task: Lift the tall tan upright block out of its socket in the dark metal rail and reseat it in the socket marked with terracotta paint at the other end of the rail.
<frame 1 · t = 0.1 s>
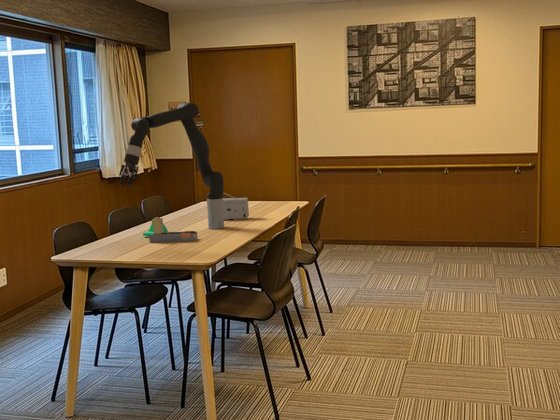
hand: (125, 184, 353), 31 cm above the table, tool tilted 20°, fingers open, 8 cm apart
tan upright block: (159, 237, 360), point 2 cm above the table, touching rail
rail: (173, 240, 359), on the table
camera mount: (155, 237, 376), on the table
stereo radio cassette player: (231, 219, 425), on the table
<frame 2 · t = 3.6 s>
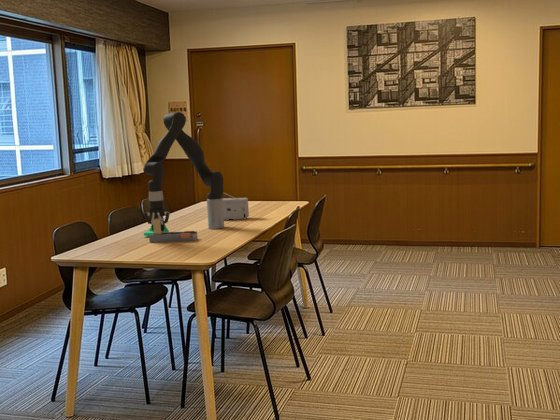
hand: (158, 231, 360), 5 cm above the table, tool pointing down, fingers closed on tan upright block, 4 cm apart
tan upright block: (159, 237, 360), point 2 cm above the table, touching gripper, rail
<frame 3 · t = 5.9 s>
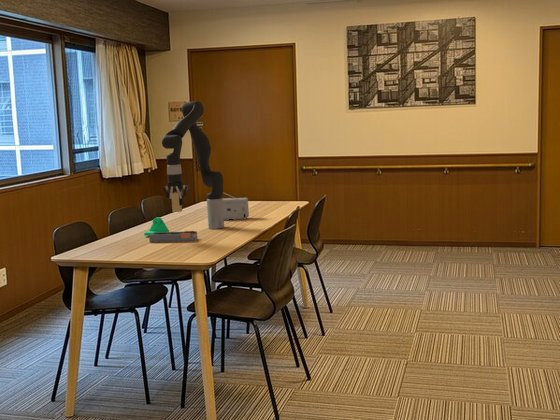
hand: (177, 205, 357), 19 cm above the table, tool pointing down, fingers closed on tan upright block, 4 cm apart
tan upright block: (177, 211, 357), point 16 cm above the table, touching gripper
when the fingers open (6 cm above the table, at t = 8.7 s): tan upright block stays where it is, resting on rail.
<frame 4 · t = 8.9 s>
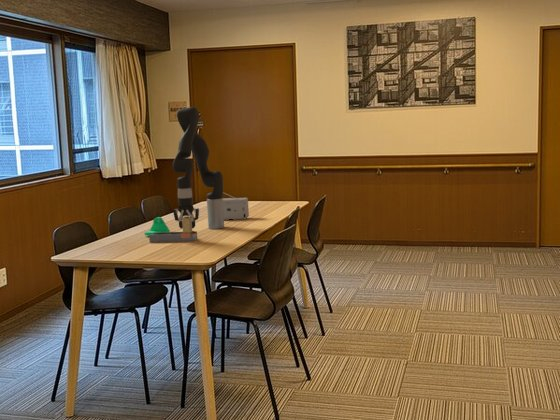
hand: (187, 228, 357), 7 cm above the table, tool pointing down, fingers open, 6 cm apart
tan upright block: (188, 236, 358), point 2 cm above the table, touching rail
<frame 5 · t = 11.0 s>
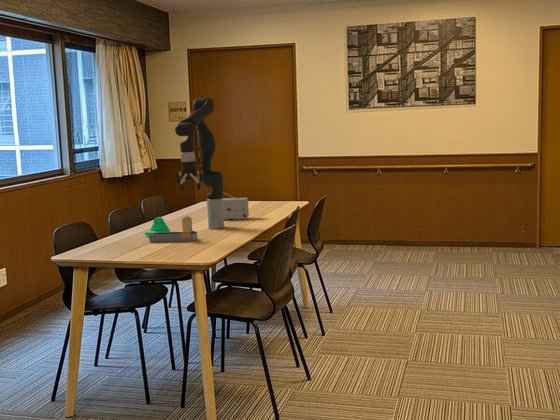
hand: (191, 190, 361), 26 cm above the table, tool pointing down, fingers open, 8 cm apart
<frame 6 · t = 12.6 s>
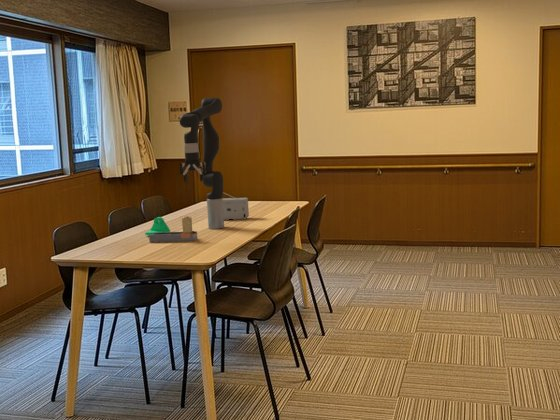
hand: (193, 181, 364), 30 cm above the table, tool pointing down, fingers open, 8 cm apart
at the end: tan upright block 0.1 cm from the target spot on the rail, point 2.0 cm above the rail's base; tan upright block tilted 0°; the gripper is holding nothing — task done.
